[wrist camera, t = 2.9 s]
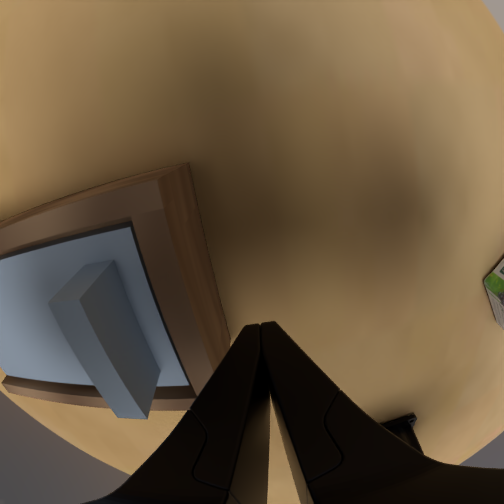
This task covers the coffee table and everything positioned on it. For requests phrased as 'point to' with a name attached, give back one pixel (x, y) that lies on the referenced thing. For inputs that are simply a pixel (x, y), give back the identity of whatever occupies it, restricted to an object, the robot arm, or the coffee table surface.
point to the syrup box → (496, 292)
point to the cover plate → (87, 319)
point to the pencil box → (158, 267)
